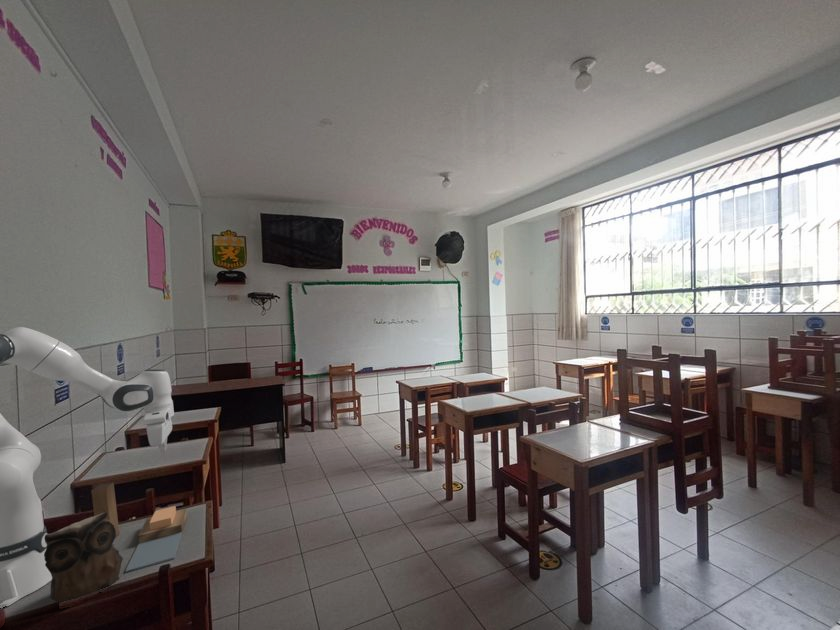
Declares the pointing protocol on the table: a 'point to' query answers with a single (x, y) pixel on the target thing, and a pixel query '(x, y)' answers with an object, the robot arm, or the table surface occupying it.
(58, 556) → the owl
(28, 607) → the table surface
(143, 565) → the mat
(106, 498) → the wooden block
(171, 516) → the tile
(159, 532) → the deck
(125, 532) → the table surface
